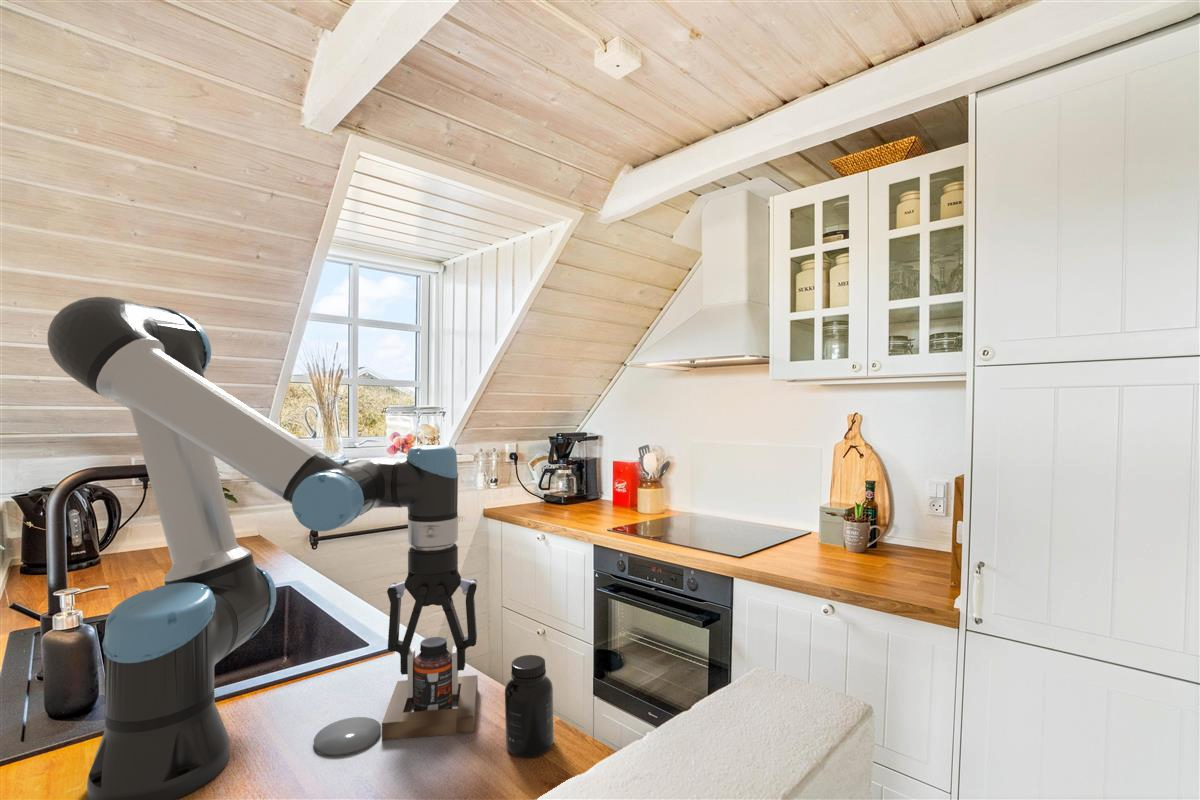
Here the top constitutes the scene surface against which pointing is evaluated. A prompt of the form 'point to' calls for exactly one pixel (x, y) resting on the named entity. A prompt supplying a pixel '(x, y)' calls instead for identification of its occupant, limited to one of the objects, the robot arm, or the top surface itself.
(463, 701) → the frame
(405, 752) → the top surface
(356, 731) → the slate coaster
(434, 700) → the supplement bottle
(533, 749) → the supplement bottle
